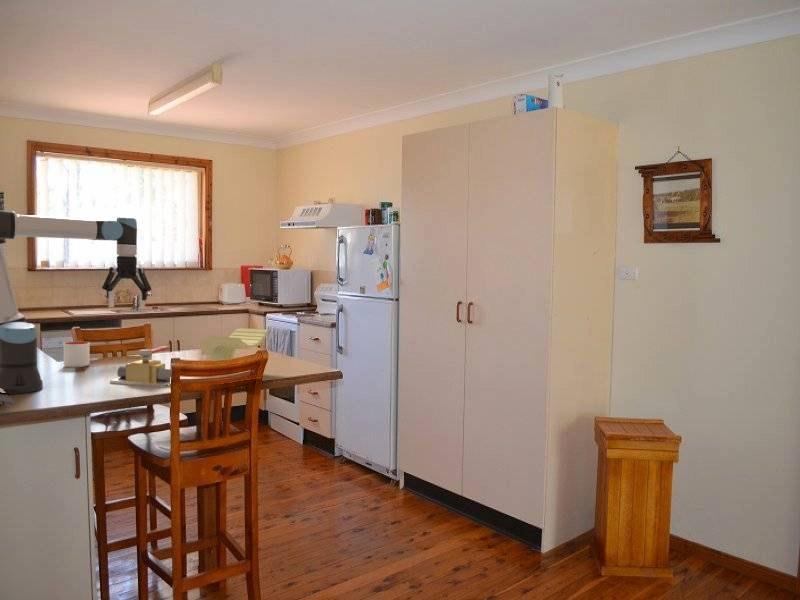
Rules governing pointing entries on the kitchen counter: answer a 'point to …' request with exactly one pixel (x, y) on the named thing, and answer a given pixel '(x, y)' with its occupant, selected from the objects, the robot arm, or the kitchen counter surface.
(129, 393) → the kitchen counter surface
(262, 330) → the slatted curved stool
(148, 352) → the lever
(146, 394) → the kitchen counter surface
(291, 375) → the kitchen counter surface
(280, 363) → the kitchen counter surface
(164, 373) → the valve
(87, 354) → the cup
